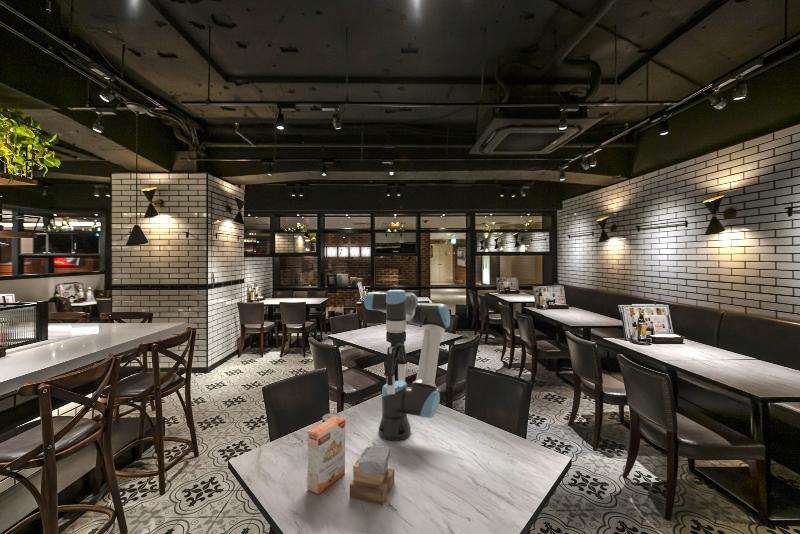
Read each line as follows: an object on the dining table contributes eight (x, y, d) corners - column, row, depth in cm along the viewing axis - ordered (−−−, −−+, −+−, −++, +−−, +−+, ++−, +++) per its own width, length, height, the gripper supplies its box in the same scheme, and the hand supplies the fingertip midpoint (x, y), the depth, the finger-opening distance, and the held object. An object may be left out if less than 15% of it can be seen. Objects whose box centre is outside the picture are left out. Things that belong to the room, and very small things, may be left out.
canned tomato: (343, 437, 150) (342, 413, 150) (336, 446, 142) (336, 421, 142) (326, 435, 151) (326, 412, 151) (319, 445, 143) (319, 420, 143)
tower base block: (363, 477, 122) (363, 463, 122) (394, 483, 118) (394, 469, 118) (349, 499, 111) (349, 484, 111) (382, 506, 107) (382, 491, 107)
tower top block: (362, 466, 120) (362, 452, 120) (387, 470, 118) (387, 457, 118) (353, 480, 113) (353, 466, 113) (380, 485, 110) (380, 470, 110)
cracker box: (319, 496, 112) (318, 435, 111) (306, 489, 115) (306, 430, 115) (346, 473, 123) (346, 418, 123) (334, 468, 127) (334, 414, 126)
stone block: (357, 478, 108) (386, 474, 107) (354, 464, 109) (383, 460, 107) (366, 458, 120) (392, 455, 119) (363, 445, 120) (389, 441, 119)
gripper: (395, 338, 110) (396, 401, 111) (413, 325, 134) (414, 376, 134) (374, 337, 113) (375, 398, 113) (396, 324, 137) (396, 375, 137)
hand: (396, 386), depth 124 cm, fingers open, 13 cm apart
